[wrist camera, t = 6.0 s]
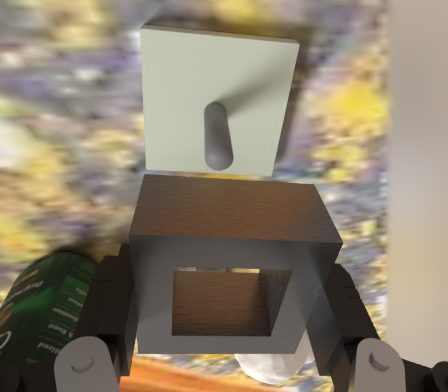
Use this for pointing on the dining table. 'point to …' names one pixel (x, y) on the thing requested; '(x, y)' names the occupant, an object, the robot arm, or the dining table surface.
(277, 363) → the white lumpy piece
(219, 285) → the link
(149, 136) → the peg stand
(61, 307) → the coffee jar
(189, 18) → the dining table surface
